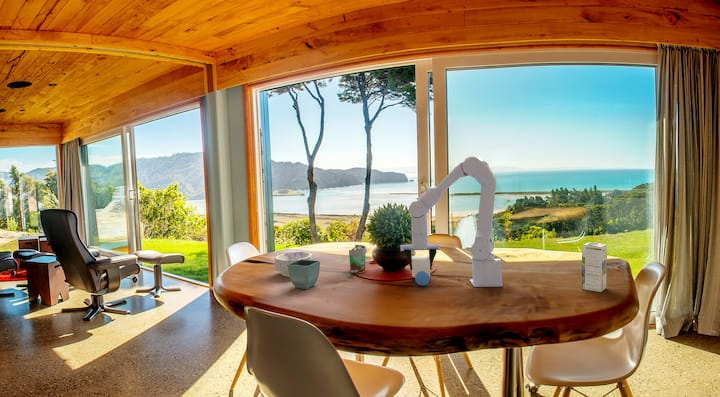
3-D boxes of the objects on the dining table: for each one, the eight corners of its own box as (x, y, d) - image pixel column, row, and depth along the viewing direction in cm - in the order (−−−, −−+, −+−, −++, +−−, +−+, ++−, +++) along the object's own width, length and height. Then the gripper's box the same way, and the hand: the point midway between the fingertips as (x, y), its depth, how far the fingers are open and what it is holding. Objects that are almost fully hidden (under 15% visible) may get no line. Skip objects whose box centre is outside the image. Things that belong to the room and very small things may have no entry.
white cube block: (428, 272, 144) (428, 255, 143) (430, 277, 137) (429, 259, 137) (412, 272, 144) (411, 255, 144) (412, 277, 138) (412, 260, 137)
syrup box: (586, 285, 125) (586, 241, 124) (607, 288, 120) (607, 243, 120) (581, 289, 121) (581, 244, 120) (602, 292, 116) (602, 246, 116)
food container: (365, 275, 149) (363, 250, 148) (349, 275, 150) (348, 250, 149) (370, 267, 161) (369, 244, 160) (356, 267, 162) (355, 244, 161)
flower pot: (322, 284, 139) (320, 260, 138) (309, 291, 131) (307, 266, 130) (301, 282, 142) (300, 259, 142) (288, 289, 134) (286, 264, 134)
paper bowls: (276, 281, 146) (274, 260, 146) (275, 271, 161) (274, 253, 160) (315, 277, 150) (314, 257, 149) (311, 268, 164) (310, 250, 164)
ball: (429, 283, 134) (428, 269, 134) (430, 287, 129) (429, 273, 129) (415, 283, 135) (414, 269, 135) (415, 287, 130) (415, 273, 130)
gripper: (399, 235, 137) (401, 272, 138) (440, 234, 135) (441, 271, 136) (399, 232, 144) (401, 267, 145) (438, 231, 142) (439, 267, 143)
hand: (420, 269), depth 141 cm, fingers closed on white cube block, 6 cm apart
